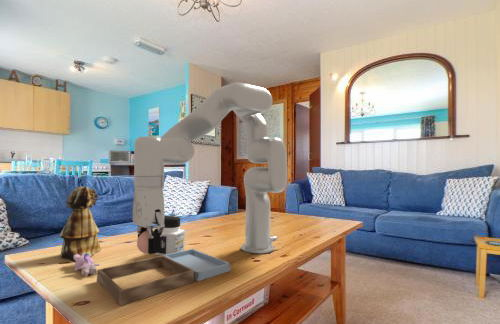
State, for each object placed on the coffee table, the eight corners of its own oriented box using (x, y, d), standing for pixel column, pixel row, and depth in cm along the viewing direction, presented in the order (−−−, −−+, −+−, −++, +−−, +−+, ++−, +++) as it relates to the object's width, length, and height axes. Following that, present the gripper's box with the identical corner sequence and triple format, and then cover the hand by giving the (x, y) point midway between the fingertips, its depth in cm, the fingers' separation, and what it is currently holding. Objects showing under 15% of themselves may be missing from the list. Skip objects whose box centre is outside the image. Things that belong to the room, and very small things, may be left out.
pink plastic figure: (103, 279, 74) (90, 257, 84) (105, 259, 73) (91, 240, 84) (77, 285, 69) (66, 262, 80) (79, 264, 69) (68, 243, 80)
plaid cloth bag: (35, 258, 83) (59, 181, 85) (63, 247, 96) (83, 181, 98) (80, 268, 83) (102, 191, 85) (101, 256, 97) (120, 190, 99)
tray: (192, 255, 92) (193, 248, 92) (230, 270, 78) (230, 263, 78) (162, 262, 84) (163, 255, 84) (198, 281, 70) (198, 272, 70)
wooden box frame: (162, 265, 82) (163, 255, 82) (193, 282, 69) (193, 270, 70) (96, 281, 69) (97, 269, 69) (120, 305, 57) (120, 291, 57)
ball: (154, 248, 74) (155, 226, 74) (164, 253, 70) (164, 230, 70) (133, 253, 70) (133, 230, 70) (142, 258, 66) (142, 234, 66)
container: (174, 256, 90) (175, 218, 91) (154, 255, 92) (155, 217, 92) (184, 250, 98) (185, 215, 98) (165, 248, 99) (166, 214, 100)
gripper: (123, 182, 74) (122, 246, 74) (149, 184, 62) (149, 262, 61) (149, 181, 79) (149, 241, 79) (178, 183, 67) (178, 254, 67)
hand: (149, 249), depth 70 cm, fingers closed on ball, 5 cm apart
